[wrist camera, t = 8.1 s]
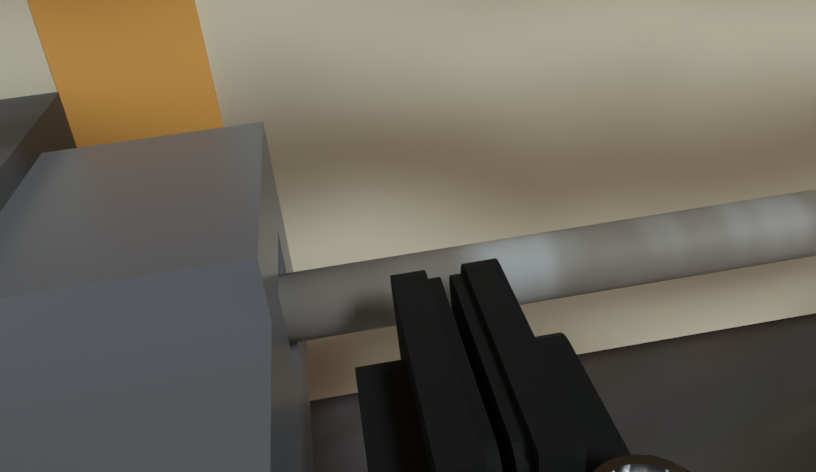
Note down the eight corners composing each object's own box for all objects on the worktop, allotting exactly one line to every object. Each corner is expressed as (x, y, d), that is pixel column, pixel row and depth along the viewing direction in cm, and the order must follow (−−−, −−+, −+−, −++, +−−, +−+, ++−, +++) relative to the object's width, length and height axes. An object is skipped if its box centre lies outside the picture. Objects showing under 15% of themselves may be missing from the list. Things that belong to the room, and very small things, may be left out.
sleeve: (41, 152, 14) (-199, 497, 7) (263, 121, 14) (250, 419, 7) (119, 368, 16) (1, 782, 9) (306, 337, 16) (327, 714, 10)
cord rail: (-238, -47, 15) (-762, 93, 7) (1325, -229, 17) (2089, -261, 10) (-10, 418, 20) (-170, 755, 13) (1128, 226, 23) (1519, 414, 16)
